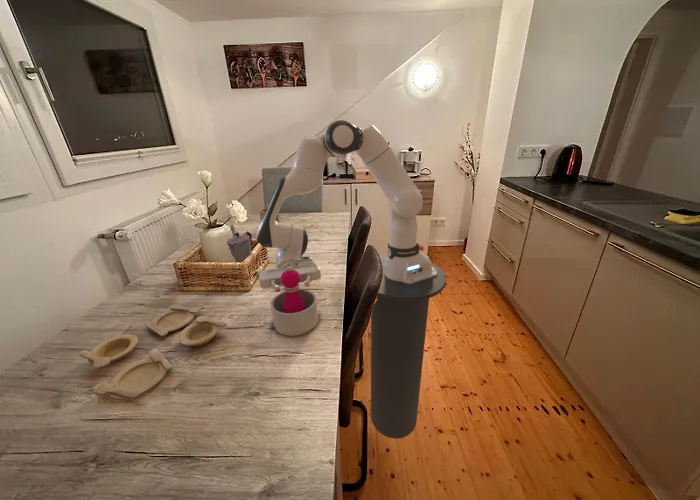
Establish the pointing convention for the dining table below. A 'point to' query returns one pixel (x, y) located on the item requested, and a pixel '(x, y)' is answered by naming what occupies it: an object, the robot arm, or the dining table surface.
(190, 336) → the tableware set
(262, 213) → the tankard
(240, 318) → the dining table surface
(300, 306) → the pepper mill
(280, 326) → the round grey bowl
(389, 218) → the robot arm
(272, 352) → the dining table surface
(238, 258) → the moka pot
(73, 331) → the dining table surface
